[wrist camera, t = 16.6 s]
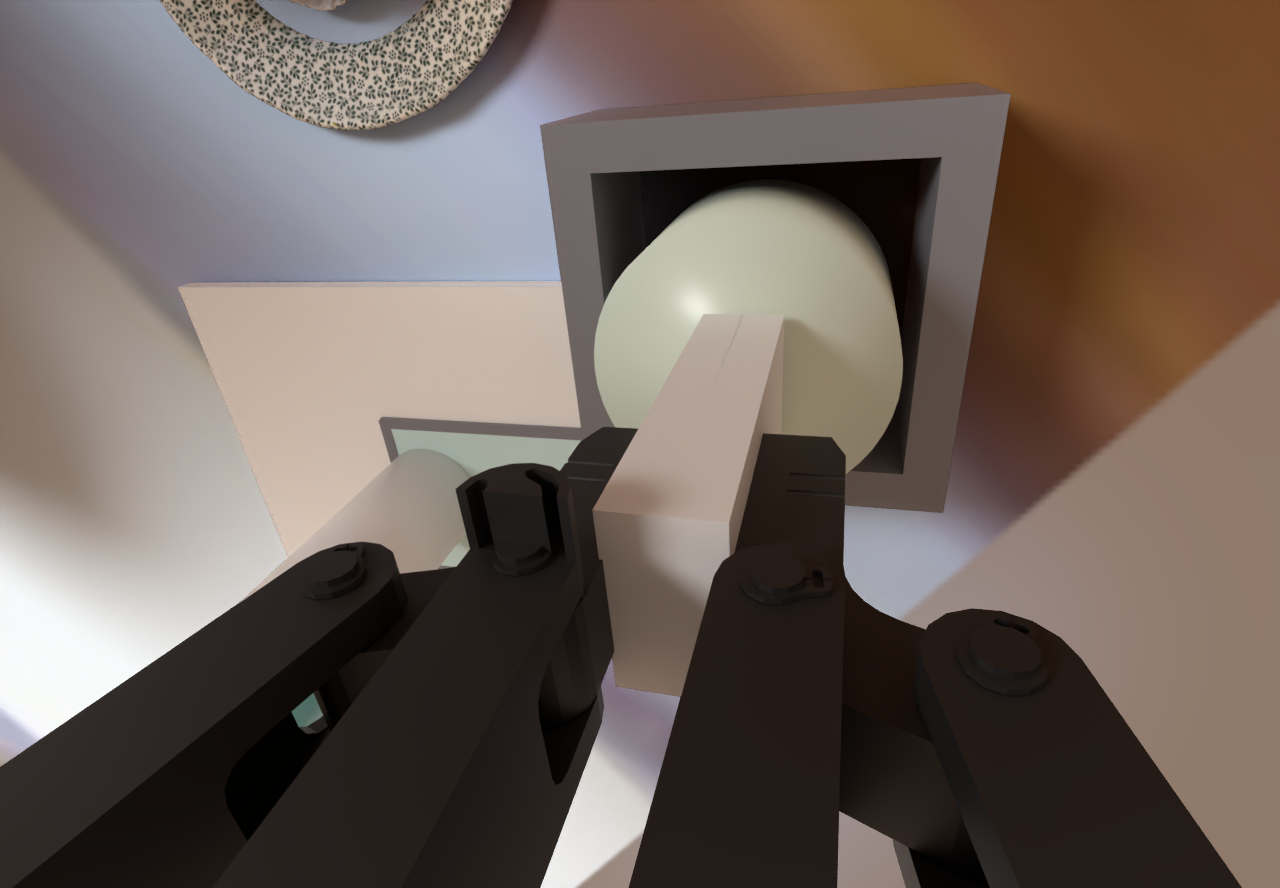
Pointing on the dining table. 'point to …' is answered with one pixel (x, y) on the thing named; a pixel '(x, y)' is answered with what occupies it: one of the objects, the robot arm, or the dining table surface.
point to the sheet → (385, 382)
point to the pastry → (344, 58)
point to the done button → (763, 308)
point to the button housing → (796, 134)
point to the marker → (393, 524)
